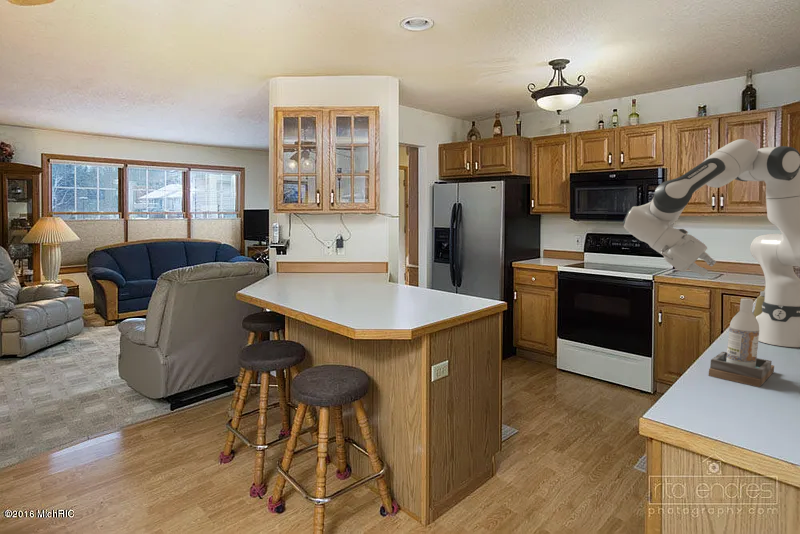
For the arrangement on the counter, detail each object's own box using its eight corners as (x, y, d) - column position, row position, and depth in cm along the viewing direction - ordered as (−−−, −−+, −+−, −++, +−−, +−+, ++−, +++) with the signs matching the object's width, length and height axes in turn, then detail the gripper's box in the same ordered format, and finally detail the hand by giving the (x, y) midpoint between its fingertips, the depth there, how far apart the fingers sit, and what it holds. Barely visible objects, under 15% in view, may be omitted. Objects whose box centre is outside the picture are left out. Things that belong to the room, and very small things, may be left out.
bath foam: (749, 372, 133) (756, 302, 131) (721, 366, 139) (727, 298, 137) (759, 368, 137) (766, 299, 135) (732, 361, 143) (738, 296, 141)
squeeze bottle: (747, 324, 200) (751, 281, 198) (765, 324, 201) (769, 281, 199) (763, 329, 192) (767, 284, 190) (782, 328, 193) (786, 284, 191)
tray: (725, 362, 150) (727, 348, 149) (773, 372, 141) (775, 357, 141) (708, 375, 138) (709, 360, 137) (759, 387, 129) (761, 371, 128)
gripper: (664, 243, 146) (707, 271, 140) (685, 227, 159) (725, 252, 153) (652, 259, 150) (693, 286, 144) (673, 242, 163) (712, 266, 157)
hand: (710, 268), depth 149 cm, fingers open, 8 cm apart
